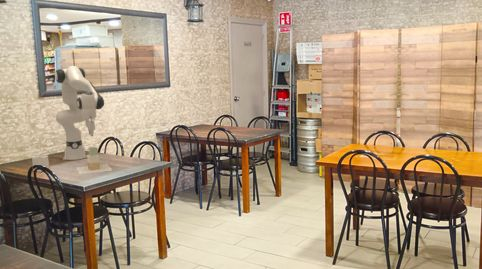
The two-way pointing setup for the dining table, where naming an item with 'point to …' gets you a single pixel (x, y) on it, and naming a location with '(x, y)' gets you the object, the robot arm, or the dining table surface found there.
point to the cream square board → (85, 170)
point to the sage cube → (93, 151)
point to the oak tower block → (93, 166)
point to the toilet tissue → (40, 161)
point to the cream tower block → (93, 159)
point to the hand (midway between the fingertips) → (91, 135)
